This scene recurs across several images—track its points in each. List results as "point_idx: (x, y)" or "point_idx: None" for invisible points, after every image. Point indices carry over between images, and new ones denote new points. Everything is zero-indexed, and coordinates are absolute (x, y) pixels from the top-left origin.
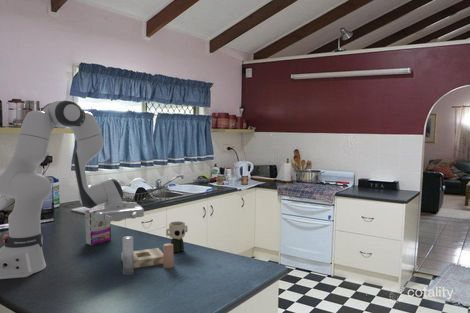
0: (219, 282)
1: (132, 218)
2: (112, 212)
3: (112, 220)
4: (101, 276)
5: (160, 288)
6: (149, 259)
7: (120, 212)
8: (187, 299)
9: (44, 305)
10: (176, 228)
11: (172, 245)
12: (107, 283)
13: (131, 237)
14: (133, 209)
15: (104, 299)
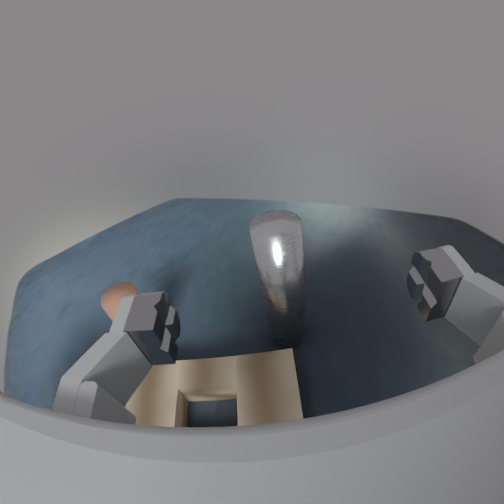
0: (119, 249)
1: (177, 326)
2: (484, 362)
3: (407, 285)
4: (375, 321)
5: (224, 243)
6: (196, 361)
7: (334, 413)
8: (197, 213)
9: (435, 220)
10: (2, 394)
11: (110, 287)
12: (347, 278)
13: (257, 224)
14: (49, 431)
15: (338, 223)
